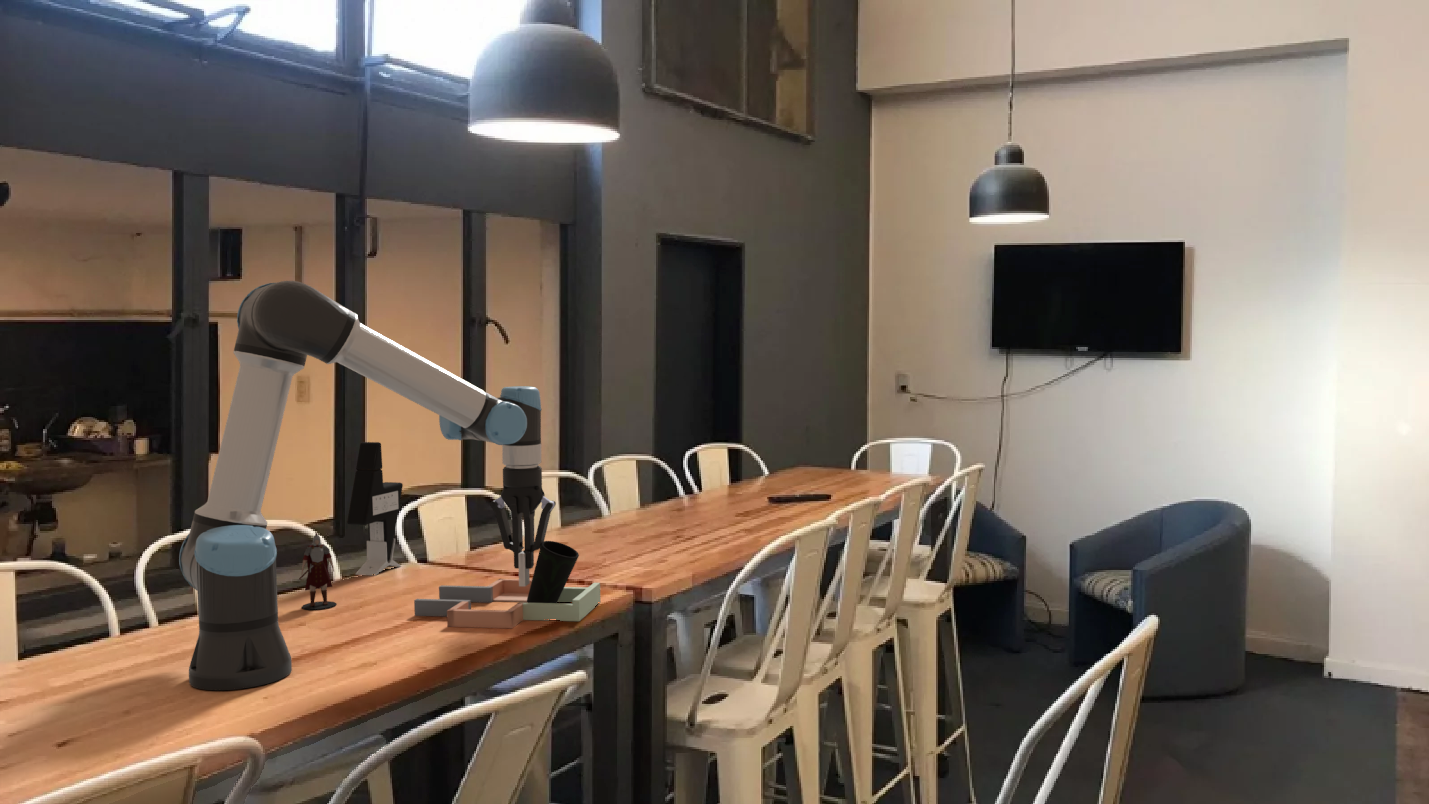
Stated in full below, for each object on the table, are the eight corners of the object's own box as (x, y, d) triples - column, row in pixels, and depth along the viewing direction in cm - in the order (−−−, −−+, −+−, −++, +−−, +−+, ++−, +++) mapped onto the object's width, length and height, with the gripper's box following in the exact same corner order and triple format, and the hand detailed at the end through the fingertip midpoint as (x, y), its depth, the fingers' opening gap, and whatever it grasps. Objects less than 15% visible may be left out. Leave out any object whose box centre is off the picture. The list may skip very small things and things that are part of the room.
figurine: (302, 611, 222) (299, 536, 221) (299, 604, 229) (297, 531, 228) (338, 608, 225) (335, 533, 224) (334, 600, 232) (331, 528, 231)
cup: (566, 612, 222) (586, 556, 221) (541, 615, 216) (561, 558, 214) (539, 594, 226) (558, 539, 224) (513, 597, 220) (533, 541, 218)
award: (367, 578, 253) (362, 445, 251) (347, 576, 255) (343, 444, 253) (406, 564, 268) (402, 438, 266) (387, 563, 269) (383, 438, 267)
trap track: (398, 625, 211) (397, 604, 210) (455, 591, 238) (455, 573, 238) (569, 629, 205) (569, 608, 205) (608, 595, 232) (608, 576, 232)
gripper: (559, 463, 222) (561, 581, 224) (497, 462, 224) (499, 579, 226) (547, 468, 215) (549, 590, 217) (483, 467, 217) (486, 588, 219)
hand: (524, 584), depth 221 cm, fingers closed
